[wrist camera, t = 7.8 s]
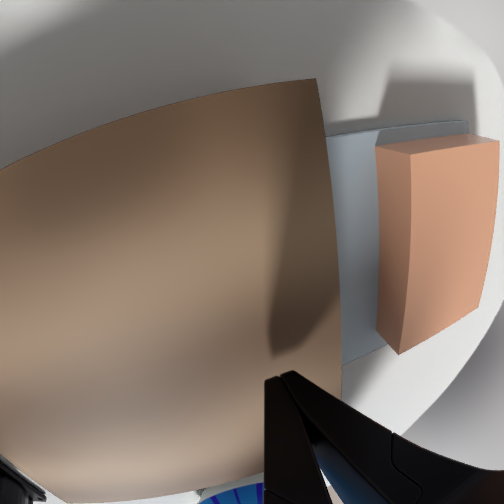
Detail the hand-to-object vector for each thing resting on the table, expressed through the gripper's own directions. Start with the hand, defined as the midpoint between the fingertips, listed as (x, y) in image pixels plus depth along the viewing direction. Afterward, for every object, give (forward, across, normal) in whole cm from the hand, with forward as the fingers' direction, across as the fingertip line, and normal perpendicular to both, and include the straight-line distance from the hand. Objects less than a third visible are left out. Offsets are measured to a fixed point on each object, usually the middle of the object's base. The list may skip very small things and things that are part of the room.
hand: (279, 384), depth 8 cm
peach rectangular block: (+2, -9, 0) cm, 9 cm away
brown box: (+5, +5, 0) cm, 7 cm away
